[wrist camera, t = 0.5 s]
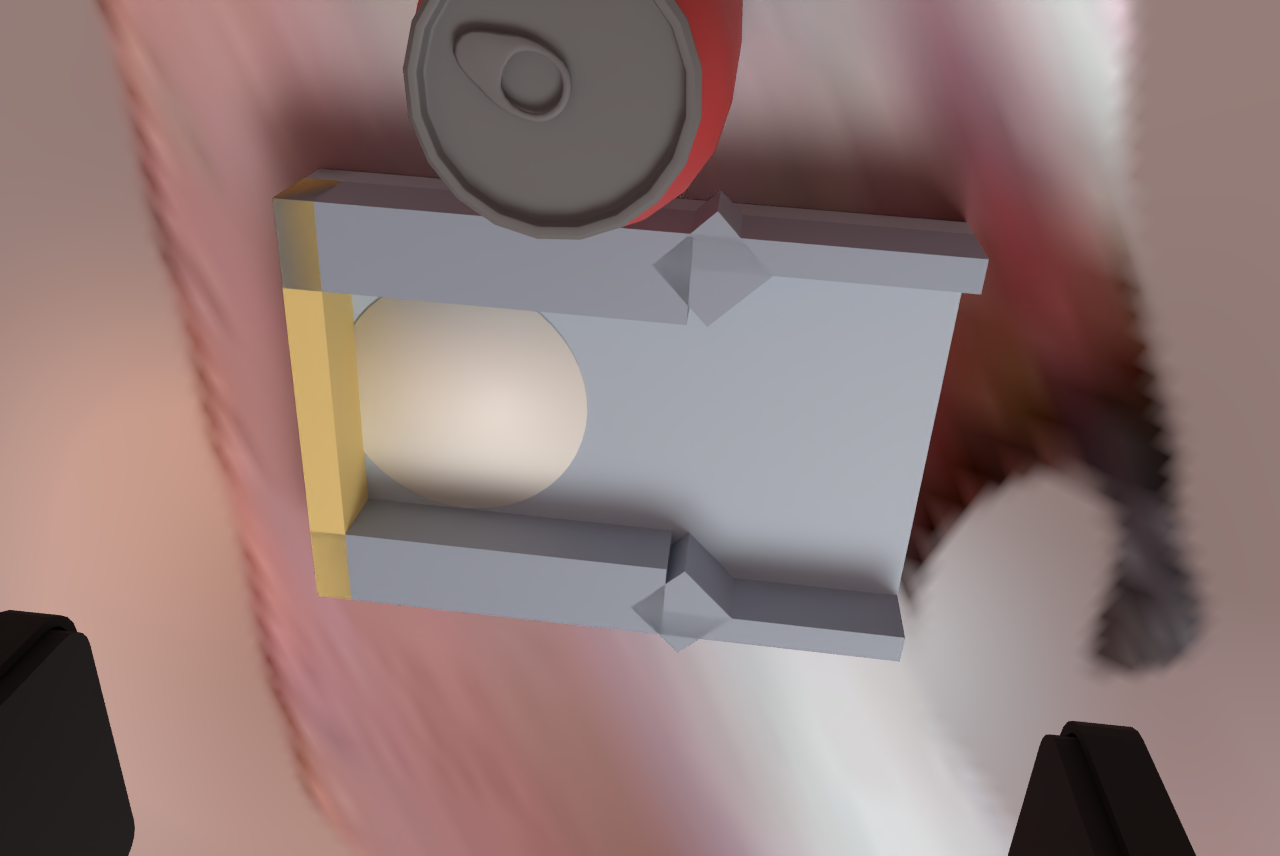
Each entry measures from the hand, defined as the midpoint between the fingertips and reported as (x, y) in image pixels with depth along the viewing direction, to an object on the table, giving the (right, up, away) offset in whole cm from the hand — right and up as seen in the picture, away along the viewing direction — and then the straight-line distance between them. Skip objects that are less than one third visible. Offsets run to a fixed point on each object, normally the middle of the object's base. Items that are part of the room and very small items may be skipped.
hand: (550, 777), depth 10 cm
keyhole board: (0, +4, +25) cm, 25 cm away
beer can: (+1, +15, +19) cm, 25 cm away
